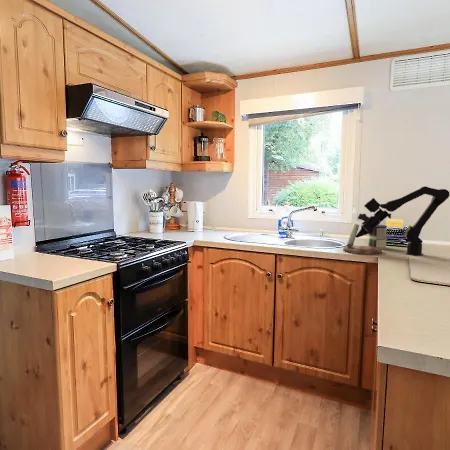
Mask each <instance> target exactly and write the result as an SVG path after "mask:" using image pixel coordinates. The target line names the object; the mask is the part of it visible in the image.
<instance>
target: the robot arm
mask: <svg viewBox="0 0 450 450" xmlns="http://www.w3.org/2000/svg"><path fill="white" fill-rule="evenodd" d="M424 195H427V196H431V197H432V198H431V200H430V203H429V204H428V206H427V207H426V208H425V210H424V211H423V212H422V214H421V215H420V217H419V218H418V219H417V221H416V222H415V223H414V224H413V225H408V227H407V228H406V229H405V231H404V237H405V239H406V240H408V243H407V247H406V249H407V250H406V252H405V254H406V255H410V256H424V253H422V252H423V251H422V250H423V239H421V238H420V235H421V232H422V229H423V227H424V226H425V225H426V224H427V222H429V219H430V218H431V217H432V215H433V214H434V212H435V211H436V210H437V209H438V207H439V206H441V205H442V204H443V203H445V201H446V200H447V199H449V197H450V192H449V190H448V189H445V188H440V189H437V188H433V187H429V186H422V187H420V188H418V189H416V190H414V191H412V192H409V193H408V194H406V195H404V196H402V197H399V198H396V199H392V200H389V201H387V202H386V203H381V204H380V203H379V202H378V201H377V200H376V199H375V198H374V197H373V198H371V199H370V200H369V201H367V202H366V203H365V204H364V205H363V207H364V208H365V209H367V210H368V211H369V212H370V213H374V214H373V215H370V216H368V215H367V214H366V213H359V214H358V217H357V219H358V220H360V221H362V223H361V226H360V229H359V230H358V231H357V234H356V238H360V237H363V236H365V235H369V233H370V234H371V233H372V232H373V229H374V228H375V227H376V226H377V225H381V224H380V223H382V222H383V221H384V220H385V219H386V218H389V219H392V212H395V211H397V209H399V208H401V207H402V206H403V205H405V204H407V203H408V202H411V201H413V200H416V199H417V198H419V197H421V196H424ZM383 209H384V210H383ZM390 212H391V213H390ZM356 238H355V239H356Z"/></svg>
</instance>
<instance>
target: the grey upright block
mask: <svg viewBox="0 0 450 450" xmlns="http://www.w3.org/2000/svg"><path fill="white" fill-rule="evenodd" d="M387 227H388V226H387V225H386V224H385V225H384V224H379V225H377V226H376V227H375V228H374V229H373V232H372V233H371V234H370V233H369V234H368V245H367V246H370V247H377V248H381V249H382V250H385V249H387V231H388V230H387Z"/></svg>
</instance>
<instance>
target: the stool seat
mask: <svg viewBox="0 0 450 450" xmlns="http://www.w3.org/2000/svg"><path fill="white" fill-rule="evenodd" d="M342 249H343V250H342V252H344V251H345V252H344V253H346V252H348V253H347V254H351V253H352V255H362V256H375V255H377V256H378V255H381V254H382V255H383V249H381V248H377V247H370V246H368V245H353V246H352V244H347V245H345V246H343V247H342Z"/></svg>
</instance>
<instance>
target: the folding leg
mask: <svg viewBox="0 0 450 450" xmlns="http://www.w3.org/2000/svg"><path fill="white" fill-rule="evenodd" d="M359 227H360V224H357V223H353V225H352V228H351V230H350V235H349V237H348V241H347V244H352V246H355V240H356V235H357V234H358V232H359Z"/></svg>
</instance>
